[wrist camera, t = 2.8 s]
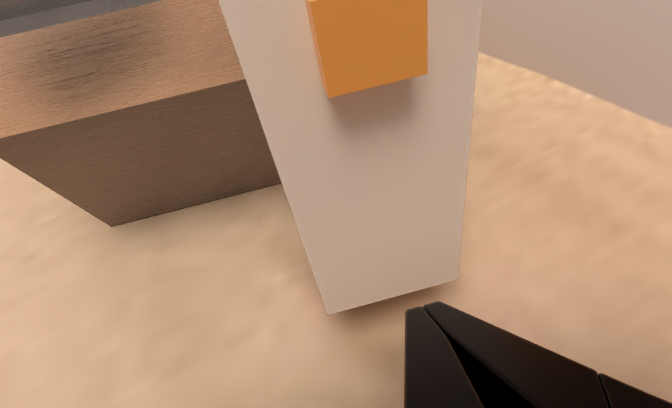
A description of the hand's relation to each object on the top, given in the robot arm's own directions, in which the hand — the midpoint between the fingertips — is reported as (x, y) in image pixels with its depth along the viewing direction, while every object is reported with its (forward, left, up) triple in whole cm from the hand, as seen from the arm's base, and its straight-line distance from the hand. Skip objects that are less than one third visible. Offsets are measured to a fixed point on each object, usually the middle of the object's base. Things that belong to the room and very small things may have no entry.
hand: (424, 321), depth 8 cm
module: (+3, -1, -4) cm, 5 cm away
